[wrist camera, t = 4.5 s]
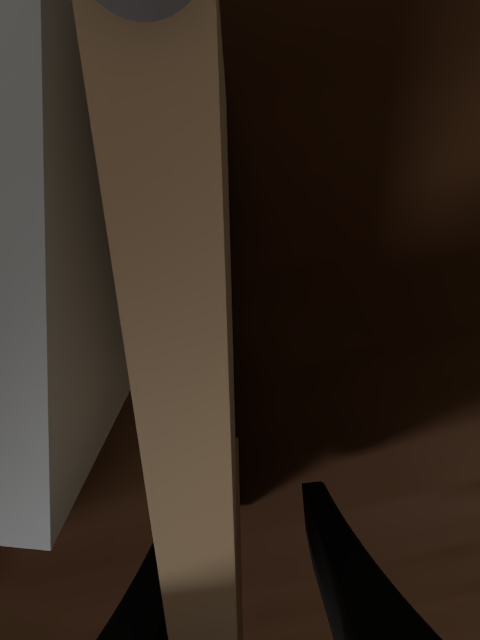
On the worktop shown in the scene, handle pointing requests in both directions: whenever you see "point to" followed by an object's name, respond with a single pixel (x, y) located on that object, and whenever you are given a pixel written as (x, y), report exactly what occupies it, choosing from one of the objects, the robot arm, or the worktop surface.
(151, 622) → the robot arm
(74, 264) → the carton
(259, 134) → the worktop surface
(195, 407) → the flap
